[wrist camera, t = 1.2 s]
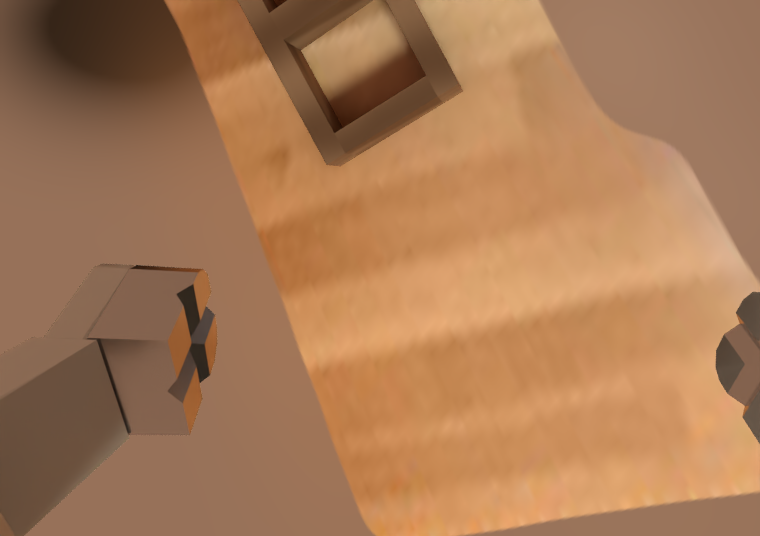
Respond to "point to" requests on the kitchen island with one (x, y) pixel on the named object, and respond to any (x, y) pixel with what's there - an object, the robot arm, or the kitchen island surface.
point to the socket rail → (283, 47)
